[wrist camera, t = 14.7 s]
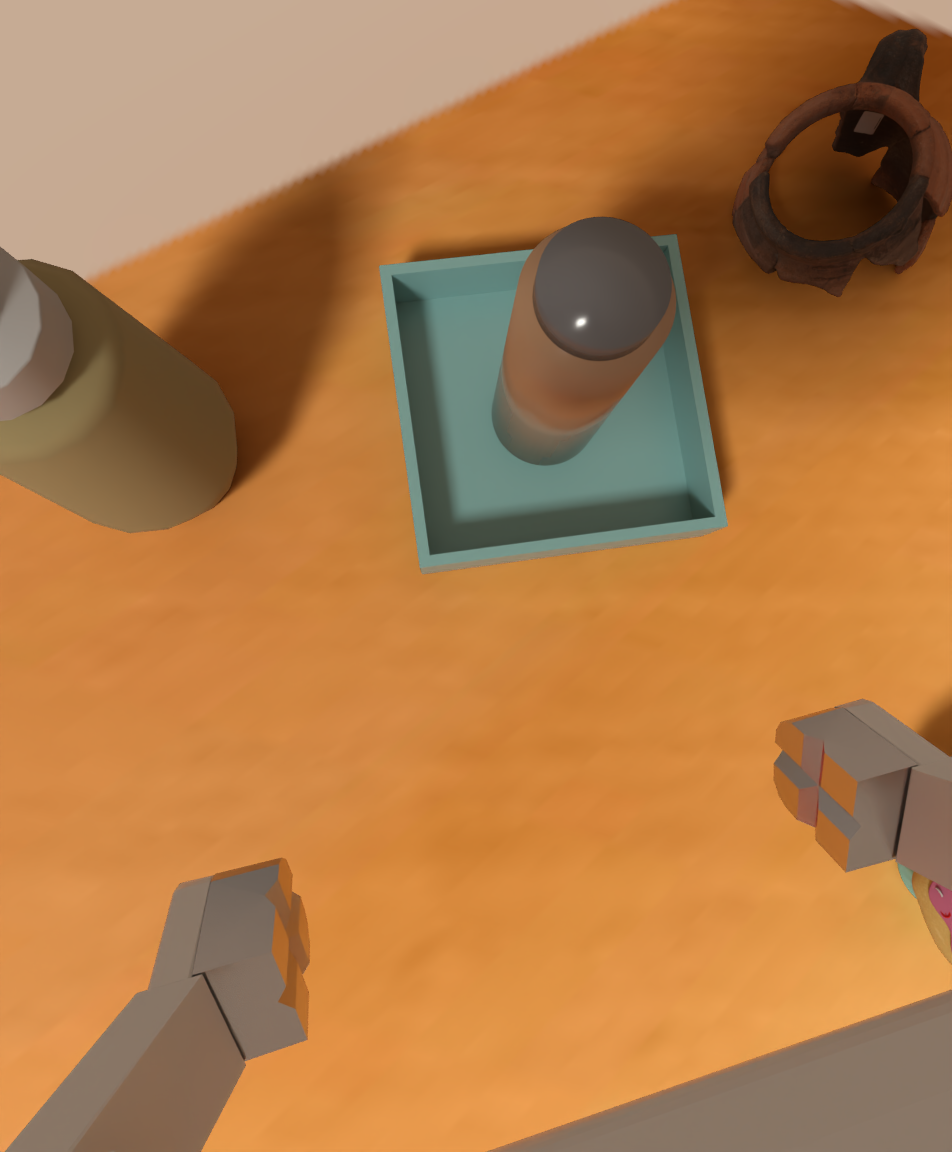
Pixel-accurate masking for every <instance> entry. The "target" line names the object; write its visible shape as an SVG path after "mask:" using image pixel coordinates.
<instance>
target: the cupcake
mask: <svg viewBox="0 0 952 1152" xmlns="http://www.w3.org/2000/svg"><path fill="white" fill-rule="evenodd" d="M898 869H899V872H900V875H901V878H902V880H903V882H904V884H905V885H906V887H907V888H908V890H909V891H910V892H911V893H912V895H913V896H914V897H915V898H916V899H917V900H918V903H919V905H920V908H921V911H922V914H923V917H924V919H925V922H926V924H927V926H928V929H929V931H930V933H931V935H932V937H933V939H934V941H935V943H936V945H937V947H938V948H939V950H940V951H941V953H942V954H943V955H944V957H945V958H946V959H947V960H948V961H949V962H950V963H951V964H952V891H951V890H949V889H947V888H945V887H943V886H941V885H939V884H937V883H936V882H934V881H932V880H930V879H928V878H926V877H924V876H922V875H920V874H918V873H916V872H914V871H913V870H911V869H909V868H907V867H905V866H903V865H901V864H899V863H898Z"/></svg>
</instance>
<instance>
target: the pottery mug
mask: <svg viewBox="0 0 952 1152" xmlns="http://www.w3.org/2000/svg"><path fill="white" fill-rule="evenodd" d="M927 47H928V46H927V38H926V35H924V34H923V33H922V32H921V31H920V30H918V29H911V30H898V31H896V32H894V33H892V34H890V35H888V36H886V37H885V38H883V39H882V40H881V41H880V42H879V44H878V46H877V48H876V50H875V52H874V54H873V56H872V58H871V60H870V62H869V64H868V67H867V69H866V71H865V73H864V75H863V77H862V78H861V80H860V81H859V82H858V83H855V84H848V85H845V86H840V87H837V88H835V89H831V90H828V91H826V92H823V93H821V94H819V95H817V96H815V97H813V98H811V99H809V100H807V101H806V102H805V103H803V104H802V105H800V106H799V107H798V108H796V109H795V110H794V111H792V112H791V113H790V114H789V115H788V116H786V117H785V118H784V119H783V120H782V121H781V122H780V124H779V125H778V126H777V127H776V129H775V130H774V131H773V132H772V134H771V135H770V137H769V138H768V140H767V141H766V143H765V148H764V150H763V151H762V152H761V154H760V155H759V157H758V159H757V161H756V163H755V164H754V165H753V166H752V167H751V168H750V169H749V170H748V171H747V172H746V173H745V174H744V176H743V178H742V181H741V183H740V186H739V189H738V192H737V195H736V198H735V202H734V207H733V212H732V216H733V225H734V228H735V231H736V233H737V236H738V237H739V239H740V241H741V243H742V245H743V246H744V248H745V250H746V251H747V253H748V254H749V256H750V257H751V258H752V259H753V260H754V261H755V262H756V263H757V265H758V266H759V267H760V268H761V269H762V270H763V271H764V272H766V273H768V274H770V273H773V272H775V271H777V273H778V276H779V278H780V279H781V280H784V281H788V282H792V283H802V284H809V285H813V286H816V287H819V288H821V289H824V290H826V291H827V292H828V293H830V294H832V295H834V296H837V297H840V296H841V295H842V291H843V289H844V288H845V286H846V285H847V283H848V281H849V280H850V278H851V276H852V274H853V272H854V270H855V268H856V266H857V265H858V264H859V262H860V261H861V260H862V259H863V258H867V259H868V260H870V262H872V263H873V264H876V265H889V264H893V265H896V268H895V273H897V274H900V273H902V272H903V271H904V270H906V269H907V268H909V267H910V266H912V265H913V264H914V263H915V262H916V261H917V259H918V258H919V256H920V255H921V254H922V252H923V250H924V249H925V246H926V243H927V241H928V239H929V237H930V234H931V231H932V229H933V226H934V224H935V219H936V217H937V216H940V217H942V216H943V215H944V214H945V213H946V212H947V211H948V208H949V205H950V202H951V199H952V151H951V147H950V143H949V141H948V138H947V136H946V134H945V132H944V131H943V129H942V126H941V125H940V123H938V121H936V120H935V119H934V118H933V117H931V116H930V113H929V112H928V111H927V110H926V109H924V108H923V106H922V105H921V104H920V103H919V88H920V80H921V74H922V69H923V64H924V54H925V52H926V50H927ZM838 112H840V117H841V119H840V121H839V125H838V127H837V129H836V131H835V134H836V137H835V139H834V142H833V144H832V147H833V150H834V151H837V152H845V153H849V154H851V155H853V156H856V157H860V156H863V155H865V154H867V153H869V152H872V151H874V150H877V149H879V148H881V147H885V146H888V150H887V153H886V154H885V156H884V157H883V159H882V161H881V166H880V168H879V169H878V170H877V172H876V173H875V175H874V176H873V178H872V180H871V183H872V184H874V185H876V186H878V187H880V188H882V189H884V190H886V191H887V192H888V193H889V194H891V195H892V196H893V197H894V198H895V199H896V200H897V204H896V205H895V206H894V208H893V209H892V210H891V211H890V212H889V213H888V214H887V215H886V216H884V217H883V218H882V219H881V220H880V221H878V222H877V223H876V224H874V225H873V226H871V227H870V228H868V229H867V230H865V231H863V232H861V233H859V234H857V235H856V236H853V237H849V238H844V239H840V240H830V241H814V240H807V239H804V238H802V237H799V236H797V235H795V234H793V233H792V232H790V231H788V230H787V229H786V227H785V226H783V225H782V224H781V223H780V221H779V220H778V219H777V217H776V215H775V214H774V212H773V209H772V207H771V203H770V198H769V173H768V172H769V169H770V167H771V166H772V164H773V162H774V160H775V159H776V158H777V157H778V156H779V155H780V154H781V153H782V152H783V150H784V149H785V148H786V146H787V145H788V144H789V143H790V142H791V141H792V140H793V139H794V138H795V137H796V136H797V135H798V134H799V133H800V132H801V131H803V130H804V129H805V128H807V127H808V126H810V125H811V124H813V123H815V122H816V121H818V120H820V119H822V118H824V117H827V116H830V115H832V114H835V113H838Z"/></svg>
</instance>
